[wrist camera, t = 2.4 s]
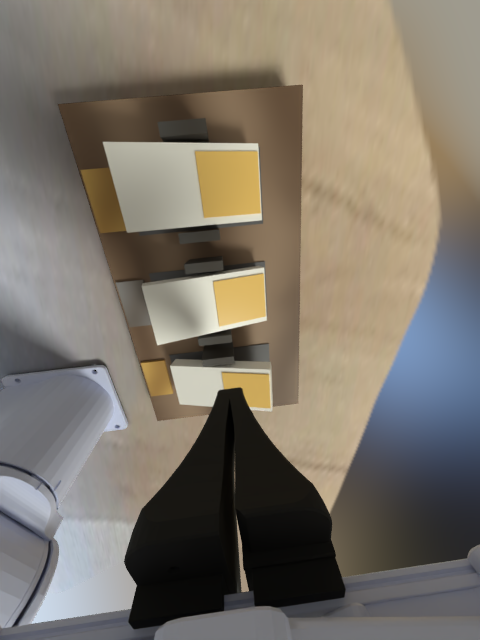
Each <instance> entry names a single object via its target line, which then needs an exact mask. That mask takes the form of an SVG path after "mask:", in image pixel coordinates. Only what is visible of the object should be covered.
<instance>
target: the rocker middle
mask: <svg viewBox="0 0 480 640" xmlns="http://www.w3.org/2000/svg"><path fill="white" fill-rule="evenodd" d="M142 290H143V294H144V298H145V301H146V305H147V309H148V312H149V316H150V320H151V324H152V327H153V331H154V335H155V339H156V342H157V345H161V344H166V343H170V342H174V341H179V340H183V339H188V338H192V337H197V336H201V335H205V334H210V333H214V332H219V331H223V330H227V329H232V328H236V327H241V326H245V325H249V324H254V323H258V322H263V321H267V315H266V294H265V273H264V267H261V266H254V267H247V268H241V269H234V270H227V271H221V272H214V273H208V274H201V275H194V276H188V277H181V278H175V279H168V280H161V281H155V282H148V283H143V284H142Z"/></svg>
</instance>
